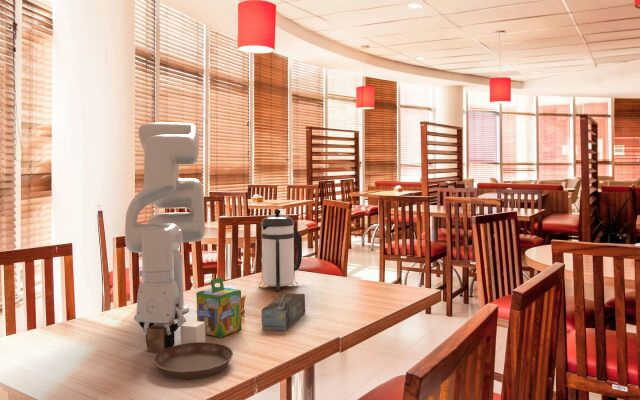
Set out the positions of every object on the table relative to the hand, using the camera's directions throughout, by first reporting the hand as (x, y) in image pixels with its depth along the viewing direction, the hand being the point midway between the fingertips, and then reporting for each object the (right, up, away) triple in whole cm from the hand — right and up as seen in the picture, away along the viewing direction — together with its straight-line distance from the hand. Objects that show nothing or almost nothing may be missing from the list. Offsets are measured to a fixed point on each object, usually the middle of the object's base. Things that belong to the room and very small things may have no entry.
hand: (160, 347), depth 130 cm
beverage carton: (+30, +1, +24) cm, 38 cm away
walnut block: (0, -1, 0) cm, 1 cm away
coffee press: (+25, +4, +68) cm, 72 cm away
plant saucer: (+11, -2, -11) cm, 16 cm away
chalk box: (+12, 0, +14) cm, 19 cm away
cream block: (+8, 0, +2) cm, 8 cm away
